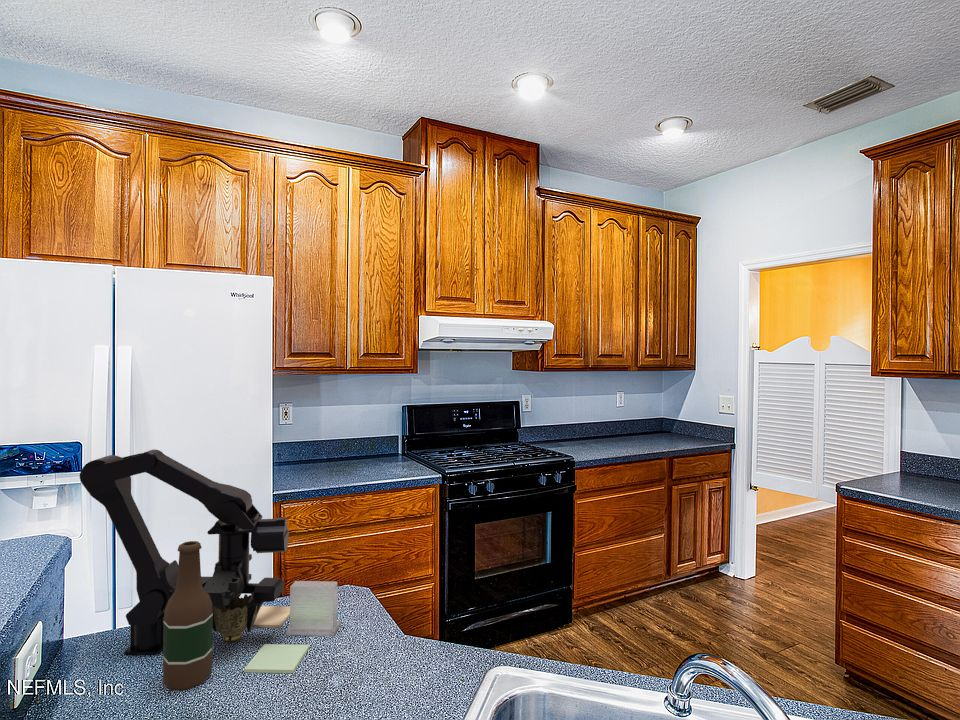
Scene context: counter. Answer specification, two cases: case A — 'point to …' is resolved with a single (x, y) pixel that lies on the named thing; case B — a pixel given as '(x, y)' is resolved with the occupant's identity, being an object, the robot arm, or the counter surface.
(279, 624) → the oak mat
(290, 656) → the sage mat
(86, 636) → the counter surface
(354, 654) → the counter surface
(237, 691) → the counter surface
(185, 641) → the beer bottle
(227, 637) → the brown ornate lampshade
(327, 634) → the box
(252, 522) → the robot arm
